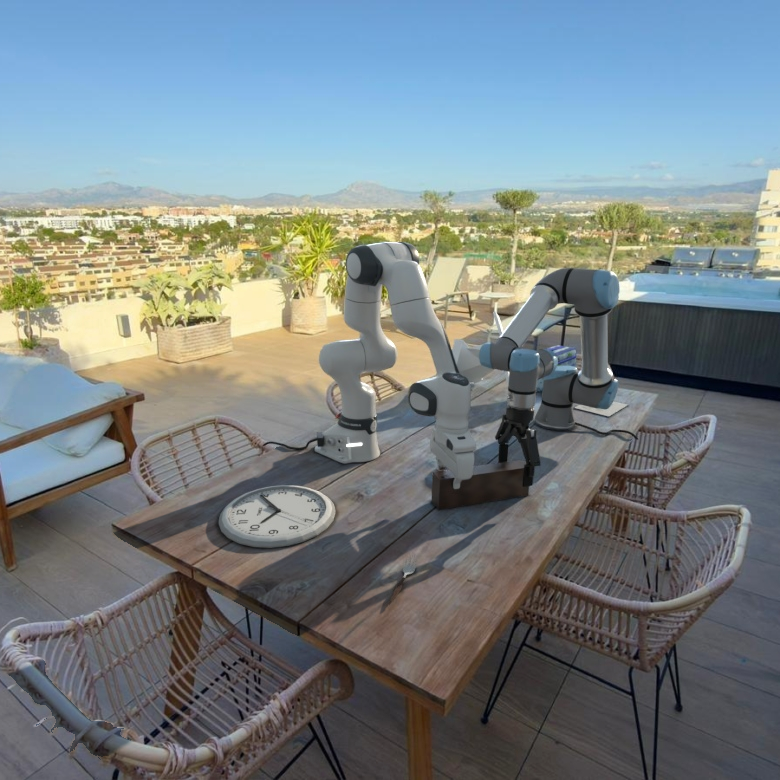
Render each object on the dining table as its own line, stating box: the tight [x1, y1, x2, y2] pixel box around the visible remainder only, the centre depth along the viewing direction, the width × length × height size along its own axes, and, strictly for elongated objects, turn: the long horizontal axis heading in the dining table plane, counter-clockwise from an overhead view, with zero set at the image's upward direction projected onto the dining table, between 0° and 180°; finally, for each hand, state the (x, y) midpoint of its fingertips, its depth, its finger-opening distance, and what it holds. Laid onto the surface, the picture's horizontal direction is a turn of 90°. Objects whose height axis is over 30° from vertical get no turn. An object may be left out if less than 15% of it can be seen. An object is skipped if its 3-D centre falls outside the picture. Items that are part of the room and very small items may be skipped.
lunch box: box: [536, 345, 577, 393], centre depth 245 cm, size 26×11×21 cm, turn 134°
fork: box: [388, 554, 419, 606], centre depth 112 cm, size 3×16×2 cm, turn 160°
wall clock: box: [218, 484, 336, 549], centre depth 137 cm, size 30×2×30 cm
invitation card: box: [573, 400, 629, 418], centre depth 226 cm, size 21×1×15 cm
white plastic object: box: [451, 310, 509, 386], centre depth 245 cm, size 37×45×31 cm
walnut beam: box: [430, 459, 530, 511], centre depth 147 cm, size 28×5×9 cm, turn 108°
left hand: (448, 479), depth 144 cm, fingers open, 8 cm apart
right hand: (514, 475), depth 151 cm, fingers open, 13 cm apart
